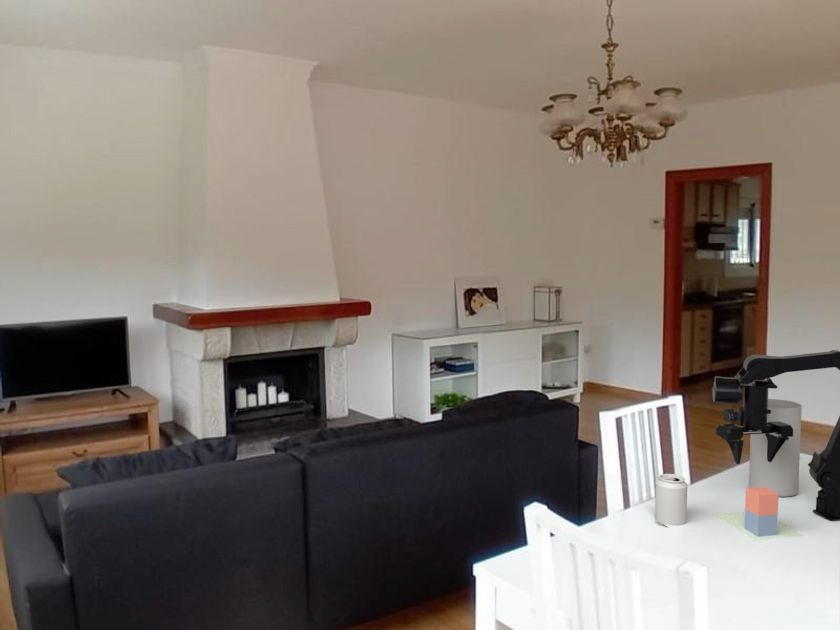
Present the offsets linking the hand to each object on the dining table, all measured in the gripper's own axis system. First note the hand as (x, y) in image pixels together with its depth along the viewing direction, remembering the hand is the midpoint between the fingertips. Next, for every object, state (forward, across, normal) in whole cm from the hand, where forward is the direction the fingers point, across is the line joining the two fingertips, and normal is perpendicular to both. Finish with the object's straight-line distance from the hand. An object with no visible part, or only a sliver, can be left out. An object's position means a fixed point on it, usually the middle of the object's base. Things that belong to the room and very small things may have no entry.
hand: (753, 462), depth 183 cm
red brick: (+6, +9, +16) cm, 19 cm away
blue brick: (+12, +9, +16) cm, 22 cm away
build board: (+12, +7, +12) cm, 19 cm away
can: (+13, +26, +5) cm, 29 cm away
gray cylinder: (+13, -15, -12) cm, 23 cm away
